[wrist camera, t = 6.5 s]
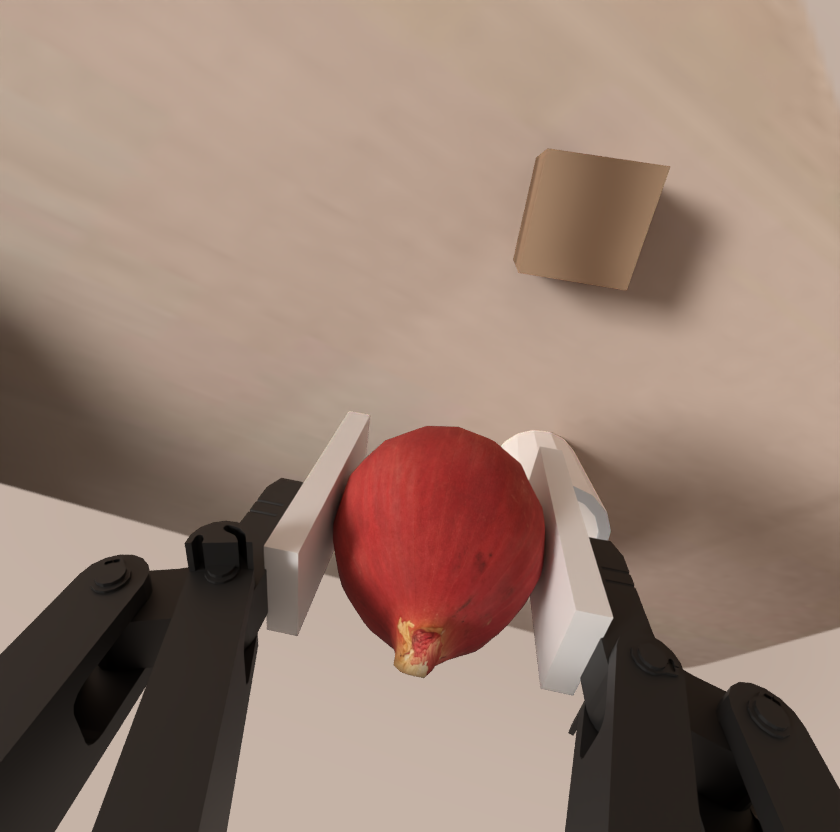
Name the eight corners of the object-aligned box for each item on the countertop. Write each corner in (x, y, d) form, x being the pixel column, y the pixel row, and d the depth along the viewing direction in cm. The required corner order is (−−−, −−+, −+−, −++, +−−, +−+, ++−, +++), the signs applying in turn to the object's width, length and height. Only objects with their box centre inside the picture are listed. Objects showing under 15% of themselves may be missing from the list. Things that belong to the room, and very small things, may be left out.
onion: (554, 499, 16) (611, 747, 9) (413, 539, 17) (364, 773, 10) (494, 358, 14) (504, 533, 7) (340, 420, 15) (218, 610, 8)
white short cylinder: (536, 520, 33) (547, 595, 26) (465, 467, 31) (459, 534, 25) (608, 462, 30) (639, 532, 23) (532, 402, 28) (544, 459, 22)
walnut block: (513, 259, 25) (518, 272, 20) (535, 158, 22) (547, 148, 18) (601, 273, 24) (626, 290, 20) (634, 172, 22) (670, 166, 18)
